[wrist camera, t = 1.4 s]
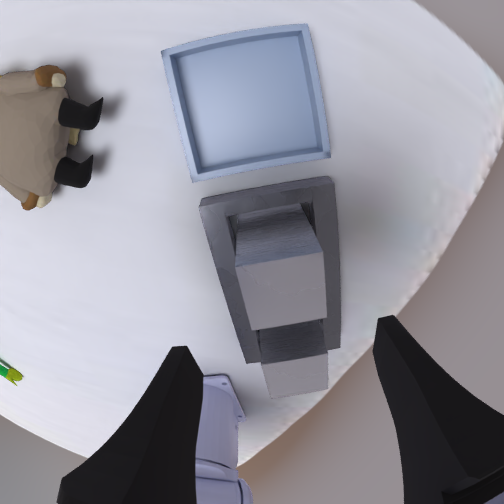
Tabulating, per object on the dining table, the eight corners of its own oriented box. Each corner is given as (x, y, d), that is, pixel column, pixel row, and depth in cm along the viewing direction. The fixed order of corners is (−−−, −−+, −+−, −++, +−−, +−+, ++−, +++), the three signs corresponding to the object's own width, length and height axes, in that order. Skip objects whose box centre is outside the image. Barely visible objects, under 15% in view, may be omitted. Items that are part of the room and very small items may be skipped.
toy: (128, 70, 15) (-21, 66, 11) (89, 69, 10) (-70, 76, 6) (102, 204, 20) (-29, 174, 16) (69, 247, 15) (-70, 203, 11)
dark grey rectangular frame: (336, 334, 24) (340, 347, 23) (246, 350, 25) (246, 363, 24) (327, 176, 18) (334, 182, 16) (202, 198, 18) (198, 207, 17)
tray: (322, 151, 17) (331, 157, 15) (197, 174, 18) (192, 182, 16) (301, 31, 13) (307, 23, 12) (169, 55, 14) (160, 51, 12)
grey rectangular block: (312, 326, 24) (328, 388, 18) (266, 334, 24) (270, 398, 19) (309, 289, 22) (327, 353, 16) (257, 298, 22) (261, 364, 17)
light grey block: (306, 255, 21) (326, 317, 15) (250, 265, 21) (252, 330, 15) (299, 202, 19) (322, 251, 13) (237, 213, 19) (234, 267, 13)
